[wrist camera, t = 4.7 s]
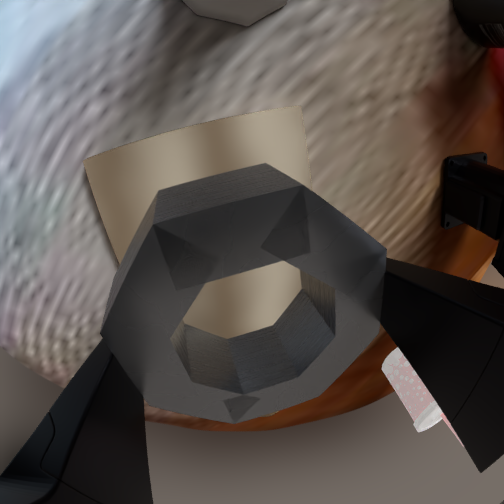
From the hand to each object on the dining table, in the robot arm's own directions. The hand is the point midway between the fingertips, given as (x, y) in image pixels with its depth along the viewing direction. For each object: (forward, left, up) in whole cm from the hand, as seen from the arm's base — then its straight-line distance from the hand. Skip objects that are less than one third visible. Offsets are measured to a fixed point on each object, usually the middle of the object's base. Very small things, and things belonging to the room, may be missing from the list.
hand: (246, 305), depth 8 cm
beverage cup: (-16, +23, -10) cm, 30 cm away
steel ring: (0, 0, -1) cm, 1 cm away
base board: (0, +7, -10) cm, 12 cm away
